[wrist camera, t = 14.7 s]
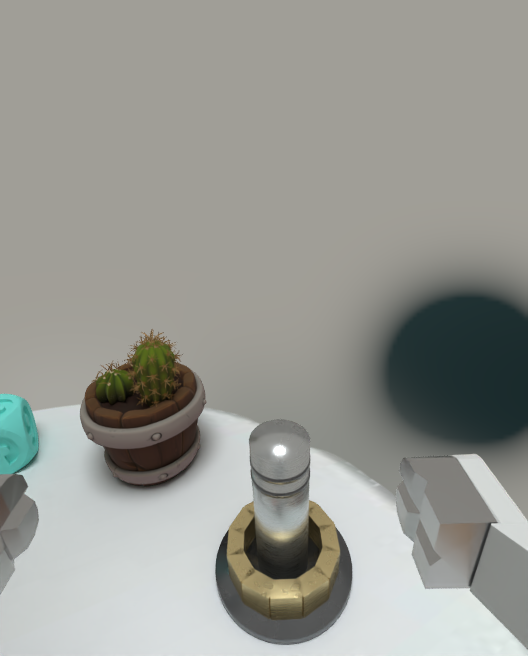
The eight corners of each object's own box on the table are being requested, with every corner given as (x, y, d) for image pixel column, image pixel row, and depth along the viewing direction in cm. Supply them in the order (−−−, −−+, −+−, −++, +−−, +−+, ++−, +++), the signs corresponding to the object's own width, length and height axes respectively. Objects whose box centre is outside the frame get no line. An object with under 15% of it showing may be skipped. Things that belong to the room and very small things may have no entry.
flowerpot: (75, 465, 49) (29, 329, 41) (171, 408, 60) (150, 289, 51) (136, 529, 41) (92, 372, 32) (236, 449, 51) (223, 314, 42)
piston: (257, 587, 34) (247, 463, 27) (257, 537, 38) (249, 420, 32) (311, 585, 34) (314, 461, 27) (305, 535, 38) (306, 418, 32)
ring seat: (208, 647, 31) (203, 621, 29) (222, 509, 42) (219, 485, 41) (367, 641, 31) (371, 614, 29) (337, 505, 42) (338, 480, 41)
